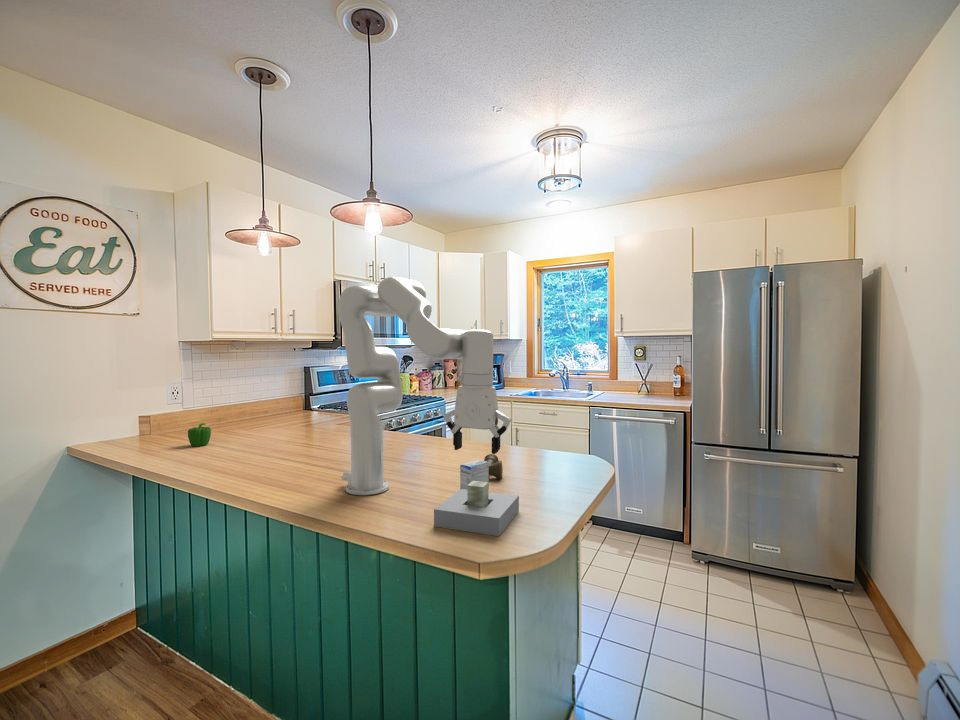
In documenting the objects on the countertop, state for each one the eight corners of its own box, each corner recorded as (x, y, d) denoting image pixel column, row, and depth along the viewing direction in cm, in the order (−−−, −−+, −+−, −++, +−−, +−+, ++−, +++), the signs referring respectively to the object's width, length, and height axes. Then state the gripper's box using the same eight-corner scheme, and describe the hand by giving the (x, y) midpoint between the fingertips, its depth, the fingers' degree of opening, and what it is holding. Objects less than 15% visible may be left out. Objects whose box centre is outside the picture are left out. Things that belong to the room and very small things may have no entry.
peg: (467, 518, 105) (467, 485, 105) (473, 512, 109) (473, 480, 108) (483, 520, 103) (483, 487, 103) (488, 514, 107) (488, 482, 107)
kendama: (505, 469, 153) (501, 484, 133) (478, 469, 154) (470, 484, 134) (504, 452, 153) (500, 465, 133) (477, 452, 154) (469, 465, 134)
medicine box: (477, 487, 130) (477, 458, 130) (489, 490, 127) (489, 461, 127) (459, 494, 124) (459, 464, 124) (471, 497, 121) (471, 466, 121)
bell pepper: (183, 447, 188) (183, 424, 188) (200, 443, 196) (200, 421, 196) (197, 448, 186) (197, 425, 185) (215, 444, 193) (214, 422, 193)
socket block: (434, 526, 101) (433, 509, 101) (461, 503, 116) (460, 488, 116) (499, 536, 96) (499, 518, 96) (518, 511, 111) (518, 495, 111)
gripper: (438, 380, 105) (437, 450, 106) (506, 383, 99) (505, 458, 99) (451, 378, 112) (450, 444, 113) (515, 381, 106) (514, 450, 106)
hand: (476, 450), depth 106 cm, fingers open, 9 cm apart
